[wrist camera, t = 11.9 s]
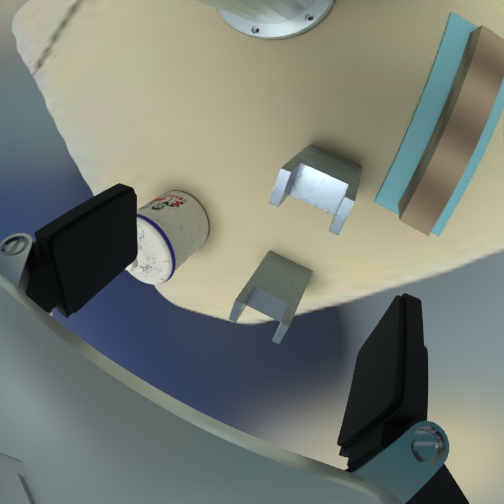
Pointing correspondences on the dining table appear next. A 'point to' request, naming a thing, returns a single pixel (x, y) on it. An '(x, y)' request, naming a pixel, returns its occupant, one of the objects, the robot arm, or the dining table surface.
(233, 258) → the dining table surface
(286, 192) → the near standard
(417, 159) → the mat
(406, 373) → the robot arm
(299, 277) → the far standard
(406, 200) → the rail
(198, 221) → the teacup with lid
